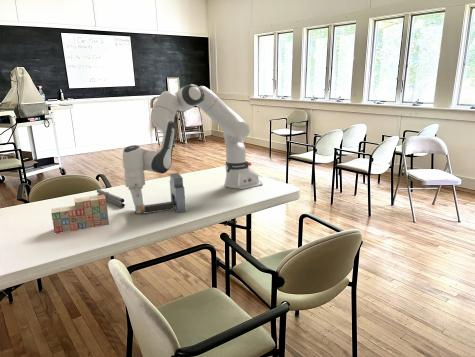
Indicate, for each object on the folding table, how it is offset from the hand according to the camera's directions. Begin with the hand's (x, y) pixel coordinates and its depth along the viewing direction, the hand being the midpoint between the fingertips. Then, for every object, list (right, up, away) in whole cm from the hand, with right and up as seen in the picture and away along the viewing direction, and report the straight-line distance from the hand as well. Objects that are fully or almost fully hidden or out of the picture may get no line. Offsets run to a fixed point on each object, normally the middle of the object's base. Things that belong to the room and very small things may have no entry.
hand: (137, 209), depth 166 cm
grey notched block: (+18, +1, +7) cm, 19 cm away
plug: (+7, -1, +3) cm, 8 cm away
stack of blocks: (-20, -6, -14) cm, 25 cm away
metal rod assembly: (-19, +2, +17) cm, 26 cm away
